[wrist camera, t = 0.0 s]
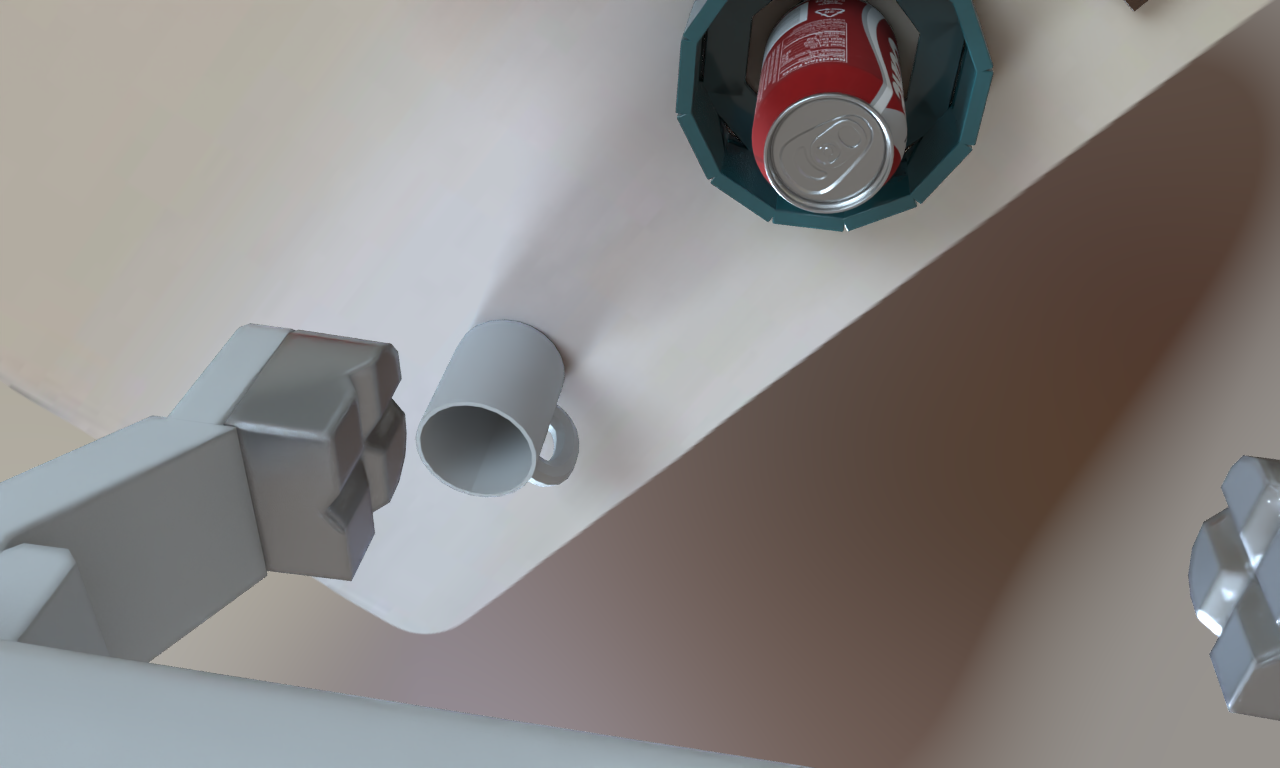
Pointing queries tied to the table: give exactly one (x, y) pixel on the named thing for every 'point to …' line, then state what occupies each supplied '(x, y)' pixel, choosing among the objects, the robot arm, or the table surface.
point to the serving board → (1135, 3)
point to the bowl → (932, 122)
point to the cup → (498, 414)
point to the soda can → (830, 106)
